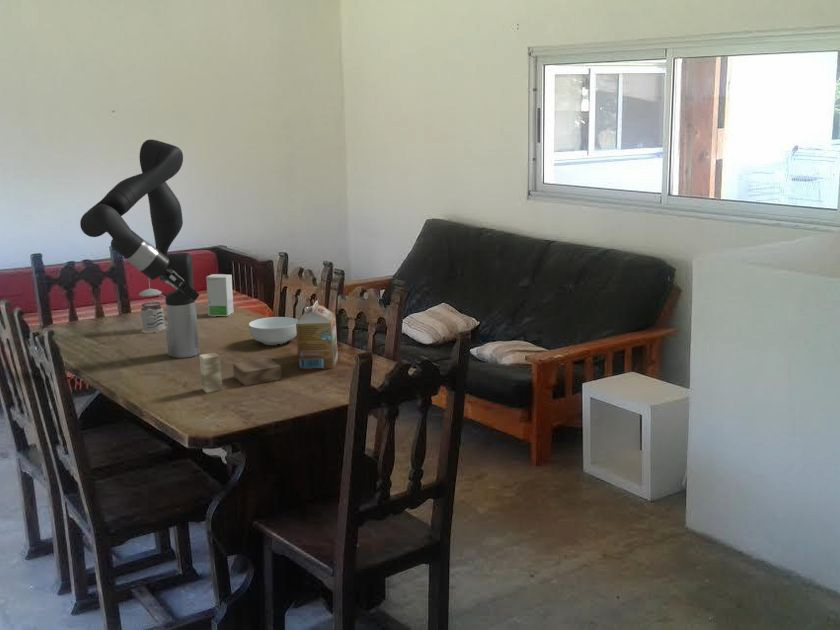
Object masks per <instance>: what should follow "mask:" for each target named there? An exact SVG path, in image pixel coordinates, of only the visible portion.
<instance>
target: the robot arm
mask: <svg viewBox="0 0 840 630" xmlns="http://www.w3.org/2000/svg"><path fill="white" fill-rule="evenodd" d="M183 162H184V154H183V151H182V149H181V148H180V147H178V146H176V145H173V144H170V143H167V142H164V141H160V140H158V139H146V140H144V142H143V143H142V144H141V146H140V149H139V165H140V169H141V173H139V174H135V175H133V176H130V177H127V178H124V179H123V180H121V181H120V182H118V183H117V184H116V185H114V186H113V188H112V189H111V190H109V191H108V192H107V193H106V194H105V196H104V197H102V199H101V200H100V201H99V202H97V203H95V205H93V206H92V207H91V208H89V209H88V210H87V211H85V213H84V214H83V215H82V216H81V218H80V222H79V225H80V230H81V231H82V233H83V234H85V235H86V236H87V237H91V238H98V237H100V236H102V235H104V234H106V233H107V234H108V235H109V236H110V237H111V241H110V247H111V248H112V249H113V250H114V251H115V252H116V253H118V254H119V255H120V256H121V257H123V258H124V259H125V260H127V261H128V263H130V264H131V266H133V267H134V268H135V269H136V270H138V271H139V272H140V273H142V274H143V275H144V276H146V277H147V278H148V280H151V281H154V280H156V279H158V278H159V280H160V282H162V283H165V284H167V285H168V286H170V287H172V288H173V289H175V290H174V291H171V292H169V293H167V294H166V295H165V296H166V297H165V298H164V299H165V301H164V302H165V311H166V313H167V314H166V320H167V326H166V327H167V328H166V331H165V333H166V342H167V343H166V346H167V353H168V355H167V356H168V357H169V356H171V357H172V358H176V359H177V358H178V359H180V358H181V359H182V358H191V357H195V356H198V355H200V354H201V352H200V351H201V350H200V349H201V348H200V340H199V339H200V338H199V337H200V336H199V329H198V316H197V306H196V301H197V299H198V297H200V293H198V292H197V291H196V289H194V271H193V270H194V267H193V266H194V265H193V259H192V256H191V254H190V253H188V252H176V253H168V252H169V249H170V246H171V245H172V243H173V242H174V240H175V239H176V238H177V236H178V235H179V233H180V232H181V230H182V227H183V225H184V224H183V223H184V221H183V213H182V212H183V211H182V210H183V209H182V206H181V203H180V201H179V199H178V198H177V196H176V194H175V193H174V191H173V190H172V189H171V187H170V185H168V183H167V181H169V180H170V179H172V178H173V177H175V176H176V175H177V174H178V173H179V171H180V170H181V168H182V166H183ZM146 195H147V198H148V199H147V200H148V203H149V214H150V221H151V225H152V226H151V227H152V231H153V237H154V243H155V244H154V245H155V246H154V245H153V244H151V243H149V241H146V240H145V239H143V238H142V237H141V236H140V235H138V234H137V233H136V232H135V231H134V230H132V229H131V227H130V226H129V225H128V223H127V222H126V221H125V219H124V218H123V216H124V215H125V214H126V213H128V212H129V211H130V210H131V209H132V208H133V207H134V206H135V205H136V204H137V202H139V201H140V200H141V199H143V198H144V196H146ZM171 357H170V358H171Z"/></svg>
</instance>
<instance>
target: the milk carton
mask: <svg viewBox="0 0 840 630" xmlns="http://www.w3.org/2000/svg"><path fill="white" fill-rule="evenodd" d="M312 306H313V307H312V308H310V309H309V310H307V311H306V312H305V311H304V313H303V314H302V315H301V316H300V317H299V319H297V320H298V322H297V323H296V332H297V335H296V343H297V357H298V369H299V370H312V368H323V369H335V367H336V364H337V362H338V360H339V354H338V353H339V352H338V339H337V335H338V334H337V321H336V319H337V318H336V314H335V313H334V312H333V311H331V310H329V309H328V308H326V307H325V306H324V307H322V306H323V305H320V304H319V300H318V299H317V300H315V302H314V304H313V305H312ZM334 366H335V367H334Z"/></svg>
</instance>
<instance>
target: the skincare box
mask: <svg viewBox="0 0 840 630" xmlns="http://www.w3.org/2000/svg"><path fill="white" fill-rule="evenodd" d="M232 276H233V275H232V274H224V273H218V274H217V273H215V274H214V273H213V274H210V275H207V276H206V278H205V279H206V294H207V295H206V296H207V309H208V310H207V313H208V316H209V315H212V316H211V317H216V316H228V315H230V314H231V313H233V312H234V311H235V310H234V297H233V293H234V292H233V277H232ZM234 313H235V312H234ZM234 313H233V314H234ZM214 315H216V316H214ZM230 316H231V315H230Z"/></svg>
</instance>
